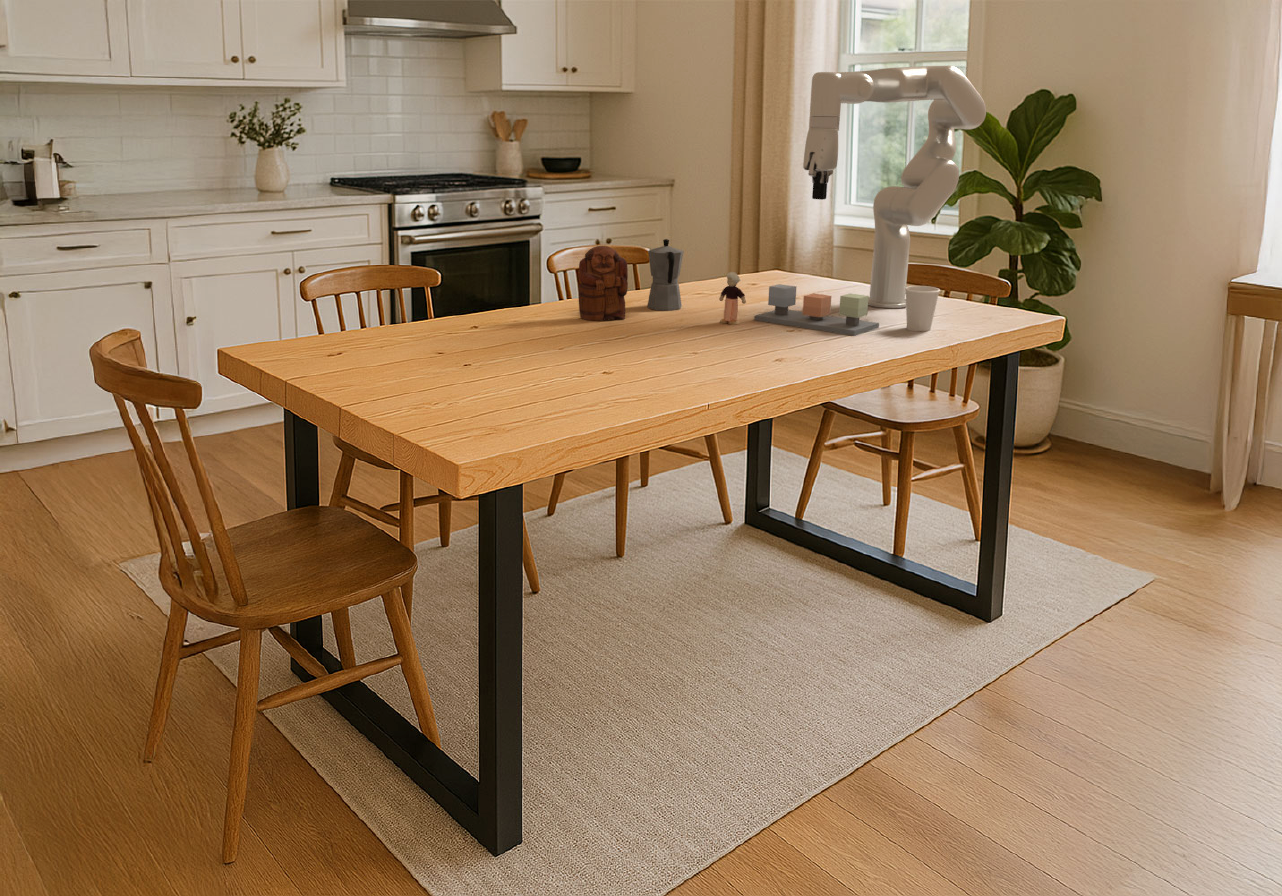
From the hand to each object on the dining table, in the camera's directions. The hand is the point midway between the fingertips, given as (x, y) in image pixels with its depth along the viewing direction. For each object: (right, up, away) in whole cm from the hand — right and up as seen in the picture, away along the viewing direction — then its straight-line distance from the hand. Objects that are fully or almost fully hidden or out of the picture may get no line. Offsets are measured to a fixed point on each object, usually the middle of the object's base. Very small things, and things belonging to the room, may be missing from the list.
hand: (819, 198), depth 278 cm
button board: (-2, -33, -7) cm, 34 cm away
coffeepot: (-39, -27, +9) cm, 48 cm away
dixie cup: (+23, -35, -10) cm, 43 cm away
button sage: (+6, -31, -14) cm, 35 cm away
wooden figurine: (-55, -31, -5) cm, 64 cm away
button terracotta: (-2, -31, -8) cm, 32 cm away
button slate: (-10, -27, -2) cm, 29 cm away
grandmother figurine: (-23, -33, -8) cm, 41 cm away
